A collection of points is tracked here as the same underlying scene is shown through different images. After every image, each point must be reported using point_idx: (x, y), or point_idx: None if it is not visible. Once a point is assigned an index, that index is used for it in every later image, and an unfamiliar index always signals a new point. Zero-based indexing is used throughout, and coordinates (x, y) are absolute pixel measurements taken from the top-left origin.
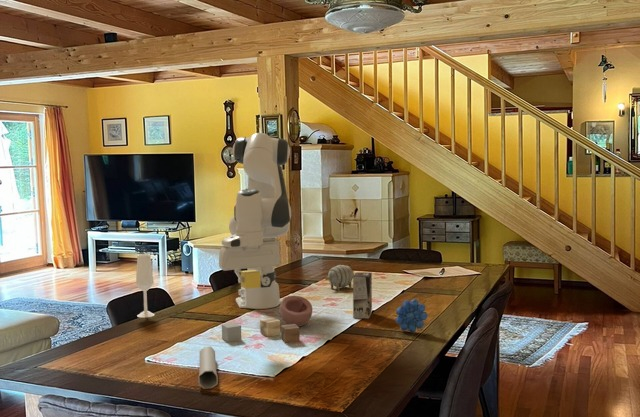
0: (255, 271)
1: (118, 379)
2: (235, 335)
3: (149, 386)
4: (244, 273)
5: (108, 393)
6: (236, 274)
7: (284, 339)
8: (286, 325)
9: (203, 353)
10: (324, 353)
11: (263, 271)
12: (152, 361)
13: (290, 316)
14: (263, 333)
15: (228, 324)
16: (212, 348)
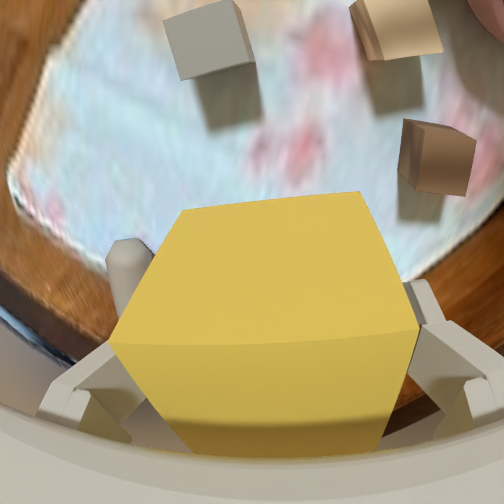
0: (345, 427)
1: (15, 283)
2: (226, 68)
3: (66, 328)
4: (181, 432)
5: (30, 325)
6: (86, 367)
7: (402, 166)
8: (441, 144)
9: (119, 305)
10: (440, 290)
11: (447, 409)
12: (25, 209)
13: (493, 30)
14: (358, 29)
15: (192, 25)
16: (135, 270)
